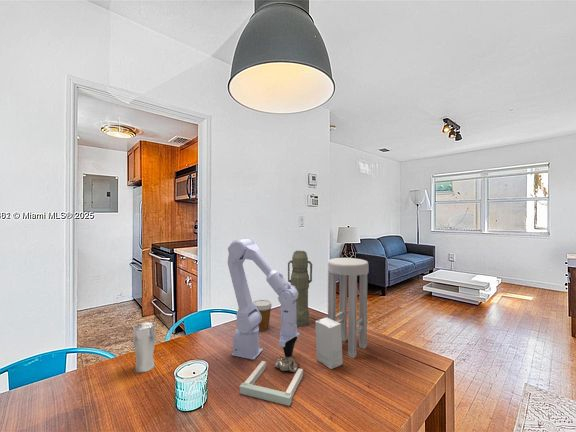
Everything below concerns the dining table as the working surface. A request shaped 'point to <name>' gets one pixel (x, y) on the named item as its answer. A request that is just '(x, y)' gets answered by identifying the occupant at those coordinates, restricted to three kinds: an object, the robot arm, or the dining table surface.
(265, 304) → the disposable coffee cup
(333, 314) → the stool
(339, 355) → the skincare box
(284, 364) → the ornament
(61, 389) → the dining table surface
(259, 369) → the u-shaped frame
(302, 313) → the thermos
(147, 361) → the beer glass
